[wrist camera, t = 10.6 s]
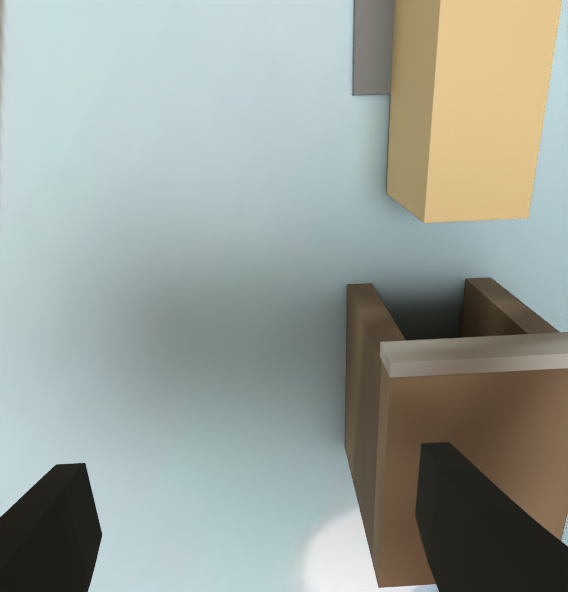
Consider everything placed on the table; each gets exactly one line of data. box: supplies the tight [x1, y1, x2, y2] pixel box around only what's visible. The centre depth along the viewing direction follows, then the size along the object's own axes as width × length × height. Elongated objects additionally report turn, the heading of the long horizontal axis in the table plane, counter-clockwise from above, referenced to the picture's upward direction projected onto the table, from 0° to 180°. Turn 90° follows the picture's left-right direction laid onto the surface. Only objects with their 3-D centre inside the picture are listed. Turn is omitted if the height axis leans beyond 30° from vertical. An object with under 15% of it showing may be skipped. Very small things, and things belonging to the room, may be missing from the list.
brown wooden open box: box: [345, 278, 568, 588], centre depth 18 cm, size 6×8×7 cm
